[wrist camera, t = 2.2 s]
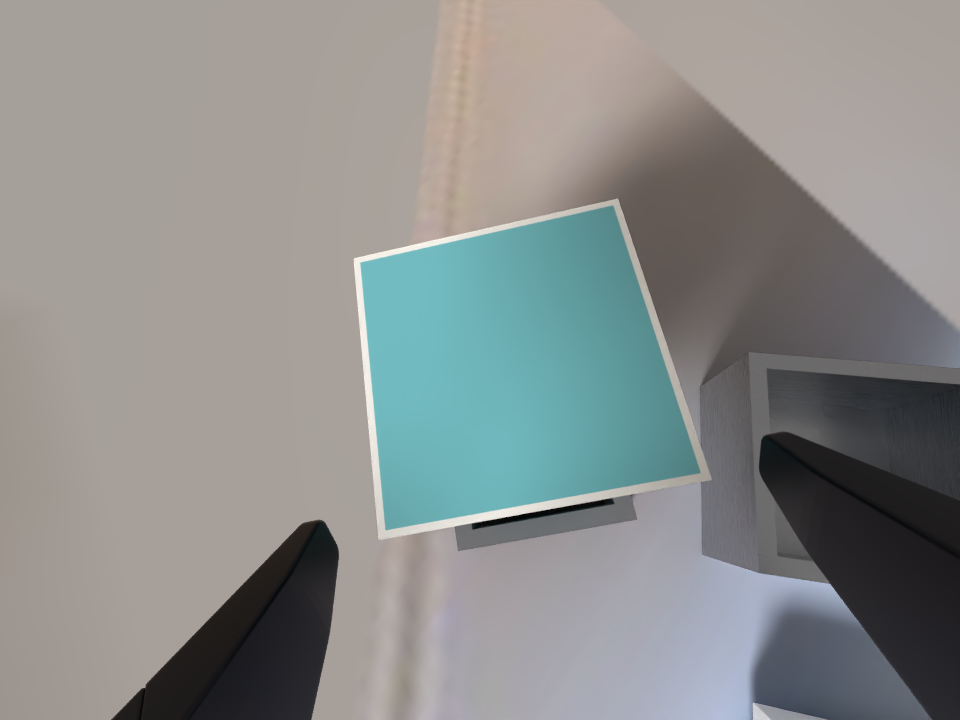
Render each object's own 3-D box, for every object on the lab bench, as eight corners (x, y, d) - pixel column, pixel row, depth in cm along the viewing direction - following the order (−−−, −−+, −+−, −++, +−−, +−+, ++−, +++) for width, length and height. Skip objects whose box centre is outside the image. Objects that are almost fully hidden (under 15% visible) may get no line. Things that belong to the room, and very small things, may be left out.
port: (900, 584, 15) (1037, 615, 11) (702, 554, 16) (758, 573, 12) (876, 403, 17) (986, 370, 13) (700, 386, 18) (748, 351, 14)
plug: (591, 495, 18) (712, 479, 5) (489, 513, 18) (378, 540, 6) (567, 395, 19) (618, 198, 7) (472, 413, 19) (353, 258, 7)
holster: (623, 517, 17) (637, 519, 15) (469, 544, 18) (458, 551, 15) (584, 368, 19) (590, 349, 17) (446, 396, 20) (434, 381, 17)
